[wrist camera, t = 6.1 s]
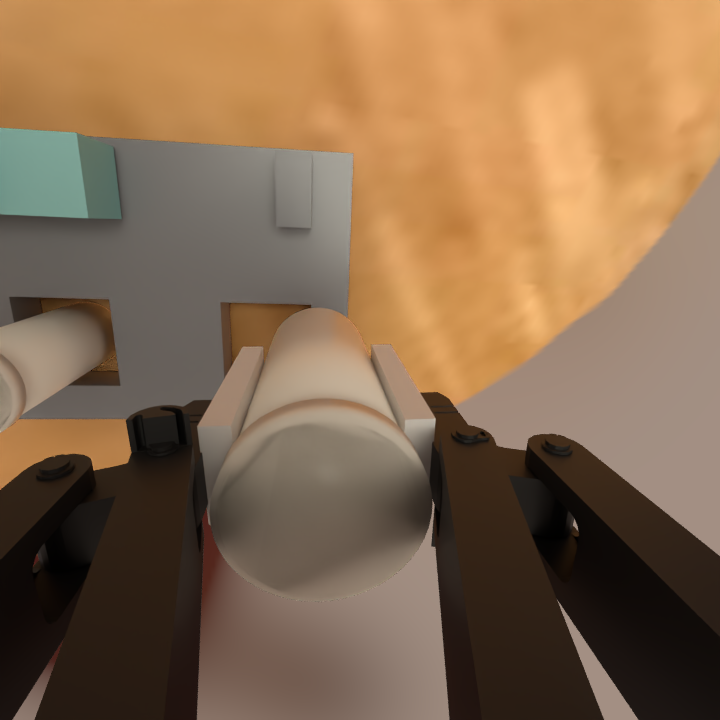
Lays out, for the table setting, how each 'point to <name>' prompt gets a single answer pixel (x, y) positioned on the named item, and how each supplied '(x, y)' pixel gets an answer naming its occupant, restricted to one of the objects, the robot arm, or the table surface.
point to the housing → (183, 263)
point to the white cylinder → (50, 354)
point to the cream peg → (320, 471)
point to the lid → (57, 175)
